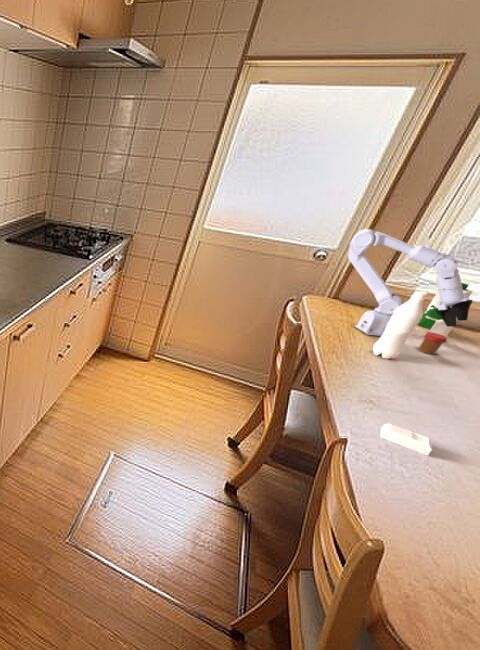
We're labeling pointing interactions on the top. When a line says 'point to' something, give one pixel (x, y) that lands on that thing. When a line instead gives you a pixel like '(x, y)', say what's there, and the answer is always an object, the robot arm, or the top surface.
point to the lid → (435, 337)
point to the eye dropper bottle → (441, 328)
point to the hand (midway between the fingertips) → (457, 323)
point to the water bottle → (400, 326)
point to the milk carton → (430, 314)
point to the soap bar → (406, 438)
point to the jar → (429, 346)
